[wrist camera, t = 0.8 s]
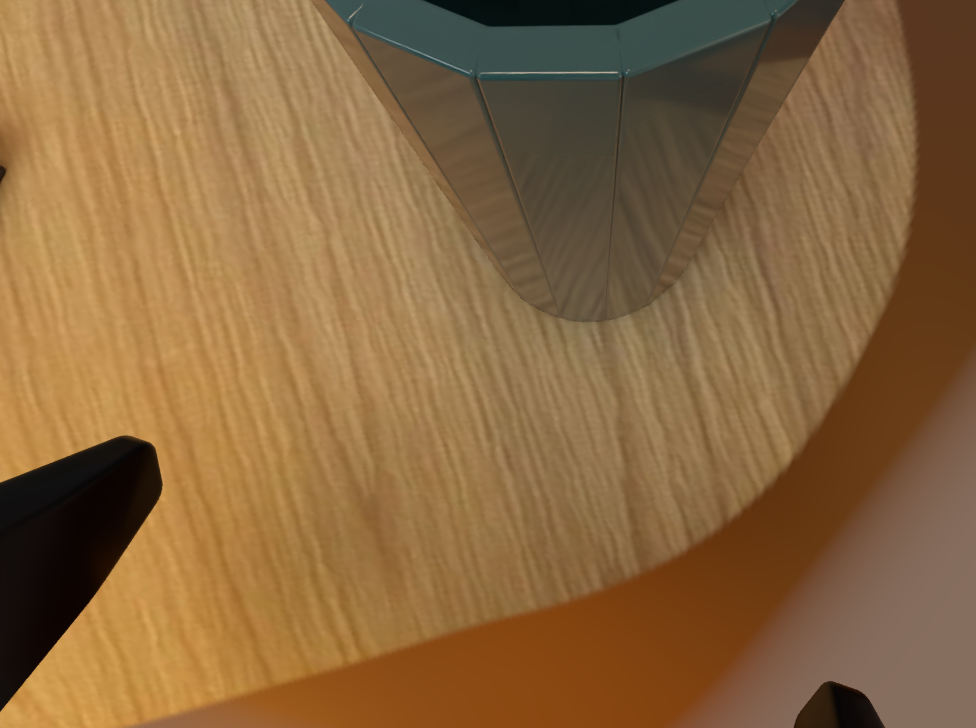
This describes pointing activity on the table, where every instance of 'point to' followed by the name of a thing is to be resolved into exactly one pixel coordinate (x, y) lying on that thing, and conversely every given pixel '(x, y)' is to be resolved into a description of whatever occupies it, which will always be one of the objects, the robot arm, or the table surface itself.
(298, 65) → the table surface
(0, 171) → the scale
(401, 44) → the tumbler
